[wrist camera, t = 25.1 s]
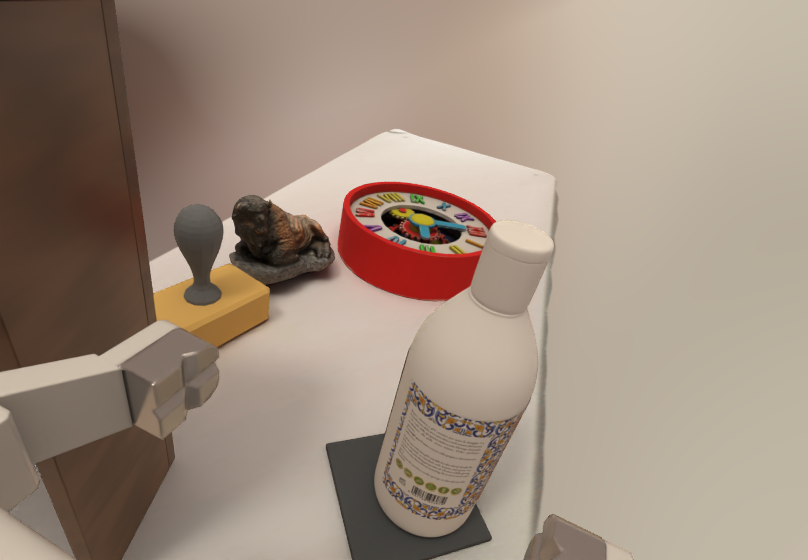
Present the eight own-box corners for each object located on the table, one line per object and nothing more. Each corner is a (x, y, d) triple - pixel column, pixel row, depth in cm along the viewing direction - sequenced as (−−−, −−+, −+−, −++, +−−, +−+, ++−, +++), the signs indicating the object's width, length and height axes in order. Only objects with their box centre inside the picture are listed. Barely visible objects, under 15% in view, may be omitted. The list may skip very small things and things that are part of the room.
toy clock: (347, 172, 62) (483, 195, 65) (342, 209, 65) (472, 230, 68) (337, 241, 45) (521, 268, 48) (331, 287, 48) (504, 310, 51)
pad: (490, 540, 29) (492, 537, 28) (357, 581, 25) (358, 578, 25) (436, 427, 35) (437, 423, 35) (325, 446, 32) (326, 443, 32)
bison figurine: (305, 246, 54) (312, 167, 49) (346, 272, 51) (358, 192, 46) (216, 278, 46) (213, 187, 40) (259, 312, 43) (262, 218, 37)
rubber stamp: (172, 374, 34) (157, 241, 28) (129, 338, 37) (105, 206, 30) (270, 319, 42) (276, 204, 36) (230, 292, 44) (228, 179, 38)
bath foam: (481, 542, 28) (632, 288, 17) (373, 540, 27) (463, 265, 16) (461, 447, 34) (565, 211, 23) (371, 442, 33) (437, 190, 22)
